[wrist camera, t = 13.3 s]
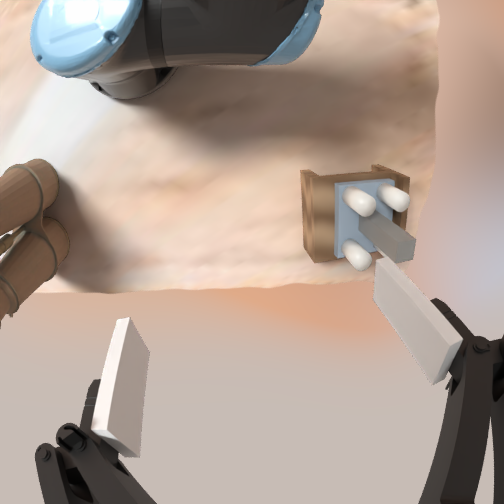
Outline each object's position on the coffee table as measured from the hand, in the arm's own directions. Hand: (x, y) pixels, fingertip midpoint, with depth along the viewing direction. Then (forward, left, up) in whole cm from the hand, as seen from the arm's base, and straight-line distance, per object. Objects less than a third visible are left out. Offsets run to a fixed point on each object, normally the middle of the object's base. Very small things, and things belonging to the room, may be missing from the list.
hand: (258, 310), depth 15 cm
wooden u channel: (+8, +20, -34) cm, 40 cm away
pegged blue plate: (+8, +21, -28) cm, 36 cm away
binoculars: (0, -33, -34) cm, 48 cm away
